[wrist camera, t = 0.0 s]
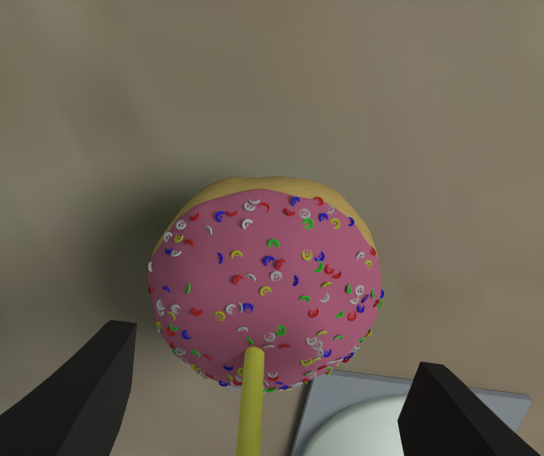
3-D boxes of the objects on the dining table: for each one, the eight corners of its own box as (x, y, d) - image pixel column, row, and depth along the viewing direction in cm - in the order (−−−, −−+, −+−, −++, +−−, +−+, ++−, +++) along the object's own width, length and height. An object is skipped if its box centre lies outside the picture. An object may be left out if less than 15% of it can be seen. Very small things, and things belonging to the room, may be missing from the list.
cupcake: (318, 332, 24) (370, 603, 13) (150, 290, 22) (50, 552, 12) (386, 175, 20) (535, 363, 10) (194, 116, 19) (113, 254, 8)
